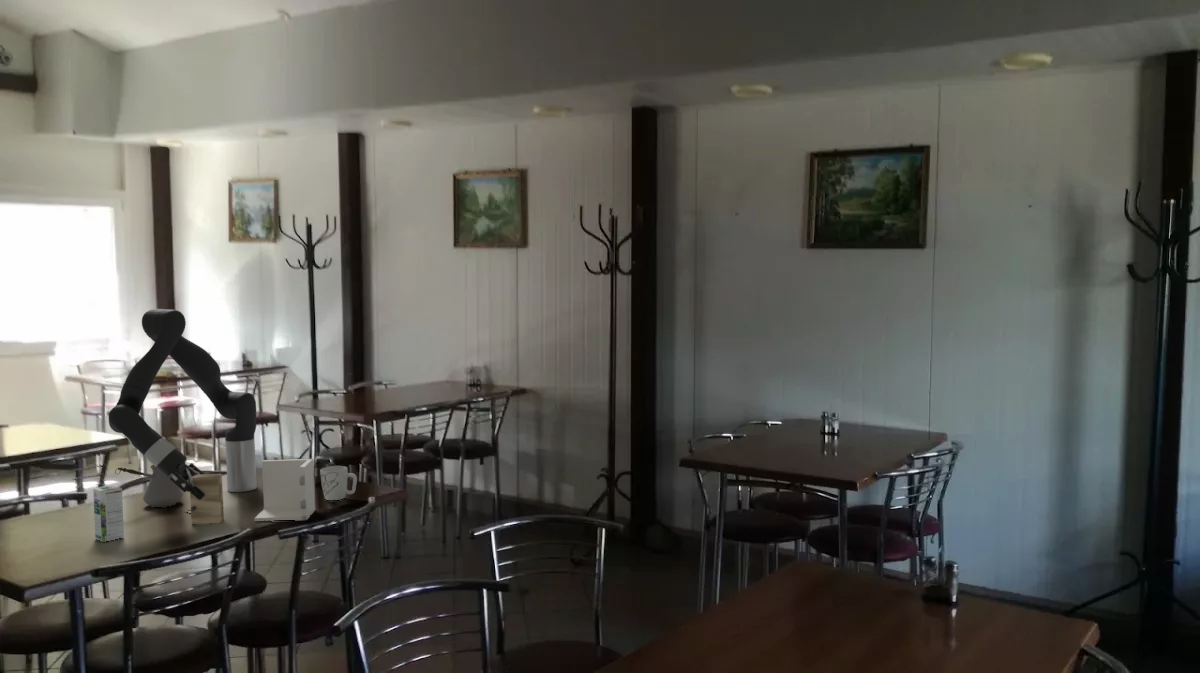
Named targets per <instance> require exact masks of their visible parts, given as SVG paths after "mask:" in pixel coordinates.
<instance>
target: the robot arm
mask: <svg viewBox="0 0 1200 673" xmlns="http://www.w3.org/2000/svg"><path fill="white" fill-rule="evenodd" d="M186 323H187V322H186V318H185V315H184V314H183V312H181V311H179V310H176V309H166V308H155V309H154V308H153V309H149V310H147V311H145V313H144V314H143V315H142V318H141V326H142V330H143V331H144V333H145V335H146V336H148V337H149V339H150V340H152V341H153V342H154V343H153V344H152V346H151V347H150V349H149V350H148V351H147V352H146V353H145V354H144V355H143V356H142V358H140V359H139V360H138V361H137V362H136V363H135V364H134V365H133V367H131V370H130V371H129V373H128V375H127V377H126V379H125V381H124V383H123V385H122V388H121V391H120V395H119V399H118V401H117V403H116V405H115V406H114V407H112V408H111V409H110V411H109V414H108V424H109V427H110V429H111V430H112V431H114V432H115V433H117V434H123V435H124V436H125V437H126V438H127V439H128V440H129V441H130V443H131V445H132V446H133V447H134V448H135V449H136V450H137V451H139V453H140V454H141V455H143V456H144V457H145V458H146V459H147V461H148V462H150V463H151V465H154V466H155V467H156V468H158V469H159V470H160V471H161V472H162V473H163V474H164V475H165V476H167V477H169V476H171V475H172V474H173V475H172V476H171V477H170V480H171V481H173V482H174V483H175V484H176V485H177V486H178V487H179V488H180V489H181V491H182V493H186V492H187V493H189V494H190V493H192V494H193V495H194V496H195V497H196V498H197V499H198V500H201V499H202V498H203V497H204V496H205V494H204V493H203V492H202V491H201V490H200V489H199V488H198V487H197V486H195V484H194V483H193V478H192V476H194V475H200V474H204V473H203V471H202V470H200V469H199V467H197V466H196V465H195V464H194V463H192V462H190V464H189V465H187V464H186V463H185V462H186V461H187V459H188V458H187V456H185V455H184V454H183V453H182V452H181V451H180V450H179V449H178V448H177V447H175V446H174V445H173V444H172V443H171V442H170V441H168V440H167V439H165V438H164V437H163V436H161V435H160V434H159V433H158V432H157V431H156V430H154V428H152V427H151V426H150V425H149V424H148V423H147V422H146V420H144V418H143V417H142V416H141V415H140V413H141V411H142V410H141V409H142V406H143V404H144V402H145V400H146V398H147V396H148V394H149V393H150V390H151V387H152V385H153V384H154V380H155V379H156V376H157V374H158V373H159V371H160V369H161V367H162V366H163V364H164V363H165V361H166V360H167V359H168V357H169V356H170V357H171V359H172V360H173V361H174V362H176V364H177V365H178V366H179V367H180V368H181V369H182V370H183V372H184V373H185V374H186V375H187V376H188V378H190V379H191V380H192V381H193V382H194V383H195V385H197V386H198V388H200V390H201V391H202V392H203V393H204V395H206V397H207V398H208V399H209V400H210V402H211V404H213V407H215V409H216V411H217V412H218V413H219V414H220V416H222V417H223V418H225V419H229V420H235V425H234V427H233V428H232V429H228V430H227V431H226V432H225V434H224V438H225V439H224V440H225V443H224V444H225V461H226V481H227V482H226V483H227V484H226V485H227V491H228V492H229V493H231V492H232V493H244V492H249V491H254V490H256V489H257V471H256V470H257V468H256V467H257V465H256V444H255V433H256V428H257V403H256V402H257V401H256V399H255V397H254V395H253V394H252V393H250V392H244V391H242V392H240V391H232V390H230V389H229V388H228V387H227V386H226V385H225V384H224V383H223V382H222V378H221V377H222V376H221V368H220V366H219V364H218V362H217V361H216V360H215V358H214V357H212V355H211V354H210V353H209V352H208V351H207V350H206V349H204V348H203V347H201V346H199V345H198V344H197V343H194V342H193V341H191V340H189V339H188V338H185V337H184V336H183V333H184V331H185V328H186V325H187V324H186Z"/></svg>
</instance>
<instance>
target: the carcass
mask: <svg viewBox="0 0 1200 673" xmlns="http://www.w3.org/2000/svg"><path fill="white" fill-rule="evenodd" d="M261 464H262V465H261V466H262V467H261V472H262V488H263V489H262V491H263V493H262V494H263V510H261V511H260V512H259V513H258V514H257V515H256V516H255V517H254V522H255V521H264V520H266V521H268V520H270V521H272V522H275V521H274V520H295V521H297V522H298V521H307V520H308V519H309V518H310V517H311V516H312V515H313V514H314V512H315V511H316V491H315V469H314V468H315V466H314V458H299V459H298V458H297V459H295V458H293V459H271V460H270V459H267V460H266V459H264V460H262V461H261ZM310 515H311V516H310ZM295 521H294V522H295Z"/></svg>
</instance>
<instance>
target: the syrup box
mask: <svg viewBox="0 0 1200 673" xmlns="http://www.w3.org/2000/svg"><path fill="white" fill-rule="evenodd" d="M92 490H93V491H92V492H93V515H94V516H93V518H94V519H93V520H94V537H95V538H94V539H95V540H96V539H97V540H96V541H99V540H100V541H99V542H102V543H103V542H105V543H107V542H106V541H109V542H111V541H110V540H114V541H116V540H115V539H118V540H120V539H119V538H122V539H124V538H125V535H124V534H125V533H124V528H125V527H124V508H123V488H122V487H119V486H115V485H104V486H99V487H95V488H93V489H92Z"/></svg>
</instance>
